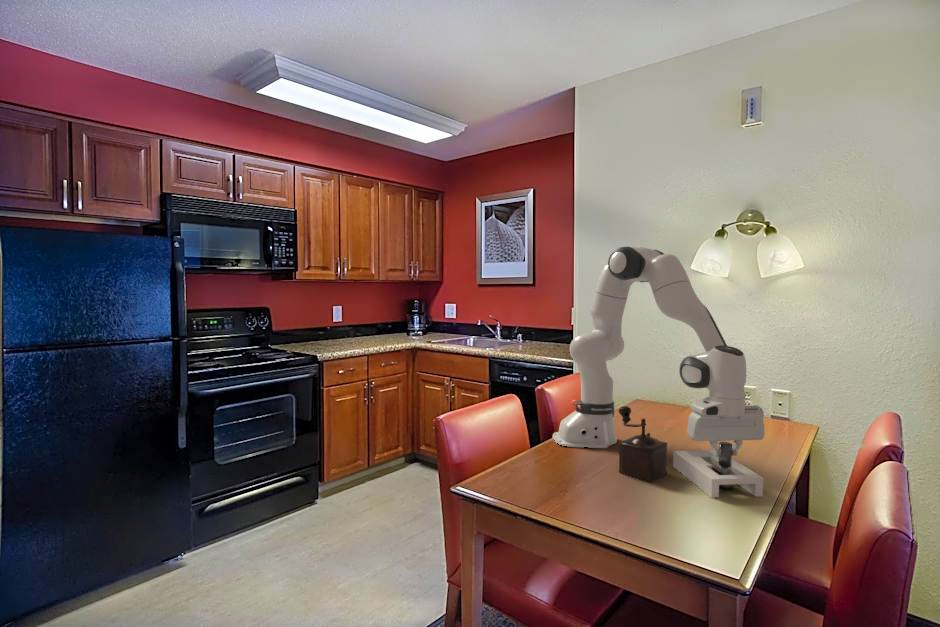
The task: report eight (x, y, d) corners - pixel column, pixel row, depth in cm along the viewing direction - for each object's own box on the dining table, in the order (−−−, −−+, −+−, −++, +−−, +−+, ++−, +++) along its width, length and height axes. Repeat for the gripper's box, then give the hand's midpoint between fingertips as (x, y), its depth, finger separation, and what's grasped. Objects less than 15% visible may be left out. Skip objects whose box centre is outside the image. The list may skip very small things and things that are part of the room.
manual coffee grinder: (669, 472, 151) (670, 413, 149) (650, 483, 143) (652, 420, 142) (622, 459, 162) (623, 403, 161) (602, 468, 154) (603, 410, 153)
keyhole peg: (720, 488, 137) (721, 446, 136) (710, 481, 142) (711, 440, 141) (738, 487, 137) (739, 446, 137) (727, 480, 142) (729, 440, 142)
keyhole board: (711, 497, 133) (711, 479, 133) (673, 466, 155) (673, 450, 155) (762, 496, 134) (763, 477, 134) (717, 465, 156) (717, 449, 156)
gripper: (756, 402, 142) (754, 450, 143) (685, 403, 141) (683, 452, 142) (771, 408, 136) (768, 458, 137) (696, 409, 135) (695, 460, 136)
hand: (725, 455), depth 139 cm, fingers closed on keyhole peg, 3 cm apart
